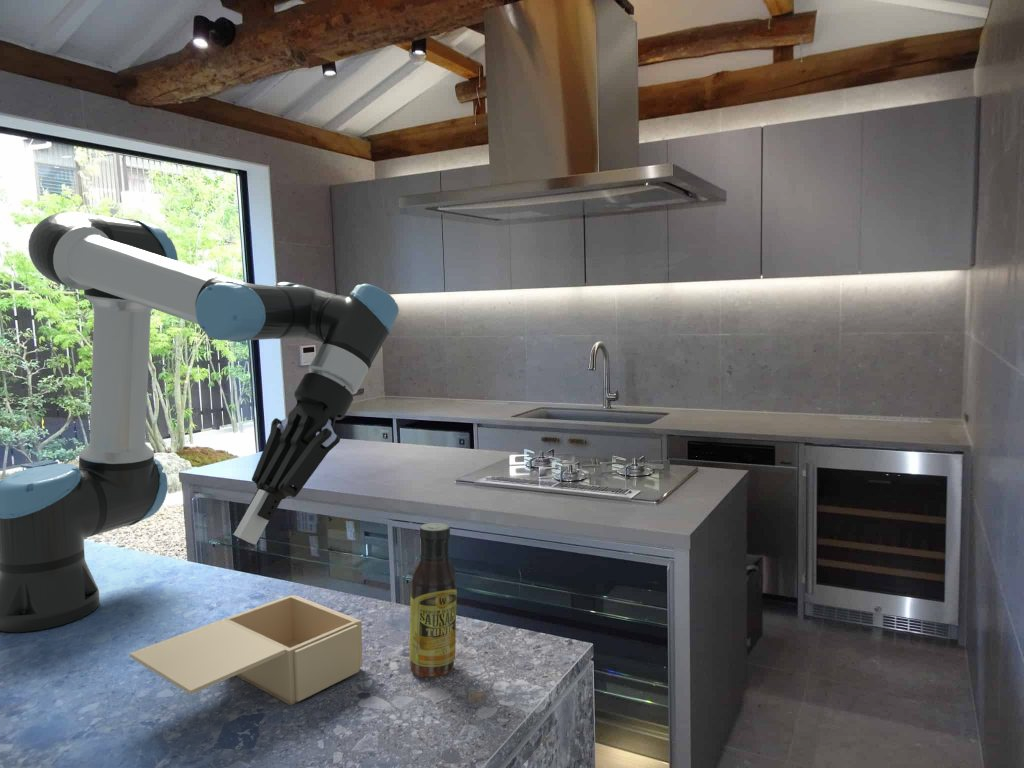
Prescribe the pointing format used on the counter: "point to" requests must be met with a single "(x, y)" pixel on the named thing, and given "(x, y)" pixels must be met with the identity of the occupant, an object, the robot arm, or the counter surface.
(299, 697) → the wooden box
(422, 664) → the sauce bottle
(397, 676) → the counter surface
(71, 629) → the counter surface
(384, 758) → the counter surface
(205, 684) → the flap
